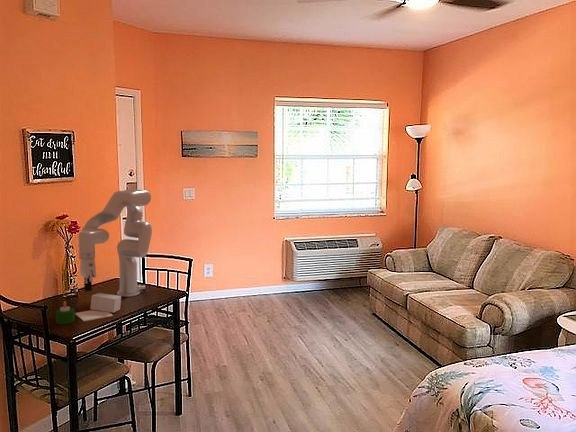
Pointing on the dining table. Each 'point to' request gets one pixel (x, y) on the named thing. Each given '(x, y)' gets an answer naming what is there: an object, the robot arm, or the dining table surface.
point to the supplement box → (105, 302)
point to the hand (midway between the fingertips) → (88, 290)
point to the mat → (93, 315)
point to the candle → (65, 314)
